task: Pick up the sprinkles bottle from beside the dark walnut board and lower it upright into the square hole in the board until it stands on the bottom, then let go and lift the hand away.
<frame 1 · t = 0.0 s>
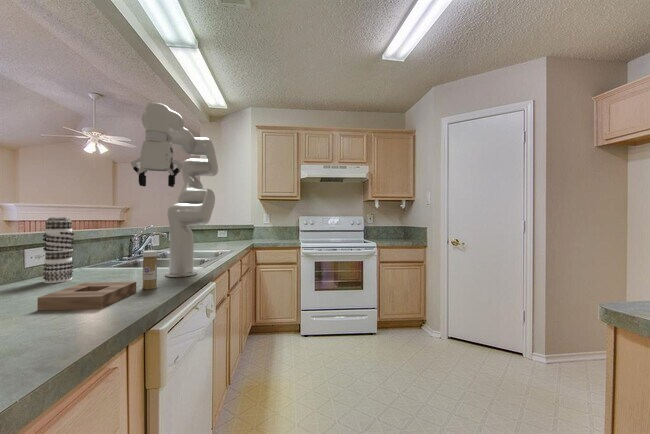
hand: (157, 186, 103), 37 cm above the countertop, tool pointing down, fingers open, 9 cm apart
decorative candle: (58, 281, 112), on the countertop
walnut hole board: (92, 300, 87), on the countertop
sprinkles bottle: (149, 288, 102), on the countertop
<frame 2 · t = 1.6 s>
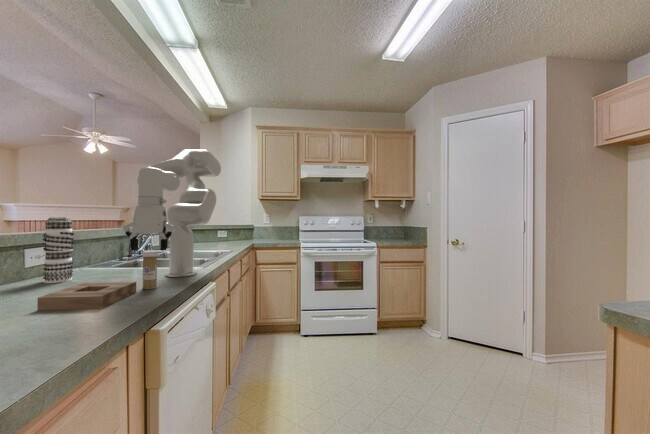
hand: (149, 250, 102), 14 cm above the countertop, tool pointing down, fingers open, 9 cm apart
nothing on the countertop moved.
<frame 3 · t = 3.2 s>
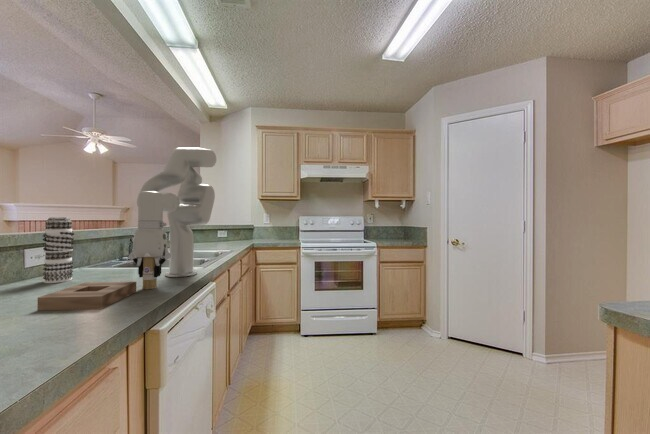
hand: (149, 276, 102), 4 cm above the countertop, tool pointing down, fingers closed on sprinkles bottle, 4 cm apart
sprinkles bottle: (149, 288, 102), on the countertop, touching gripper
everything else where it was.
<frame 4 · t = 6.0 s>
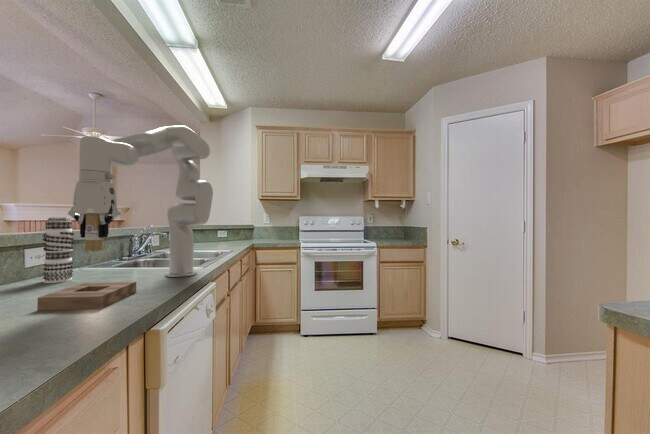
hand: (94, 236, 87), 19 cm above the countertop, tool pointing down, fingers closed on sprinkles bottle, 4 cm apart
sprinkles bottle: (94, 251, 87), point 15 cm above the countertop, touching gripper
everything else where it was.
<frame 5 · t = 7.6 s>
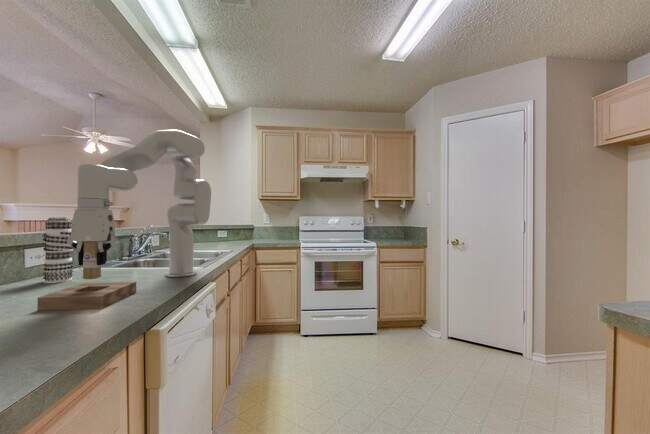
hand: (92, 264, 87), 11 cm above the countertop, tool pointing down, fingers closed on sprinkles bottle, 4 cm apart
sprinkles bottle: (92, 278, 87), point 7 cm above the countertop, touching gripper
everything else where it was.
when the fingers open (5 cm above the countertop, at t = 9.0 s): sprinkles bottle stays where it is, resting in walnut hole board.
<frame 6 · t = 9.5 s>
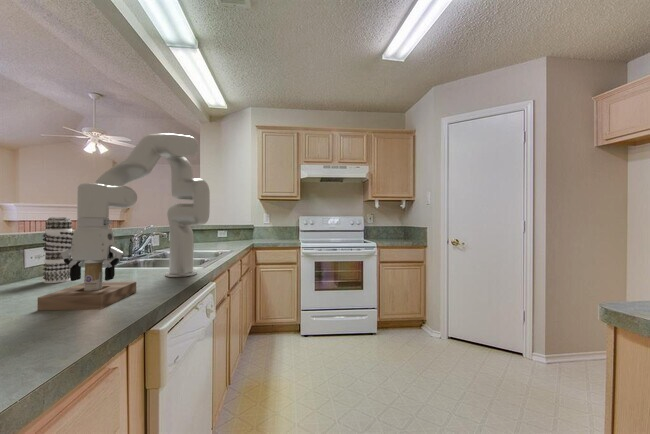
hand: (92, 279, 87), 6 cm above the countertop, tool pointing down, fingers open, 9 cm apart
sprinkles bottle: (93, 300, 87), resting in walnut hole board
everything else where it was.
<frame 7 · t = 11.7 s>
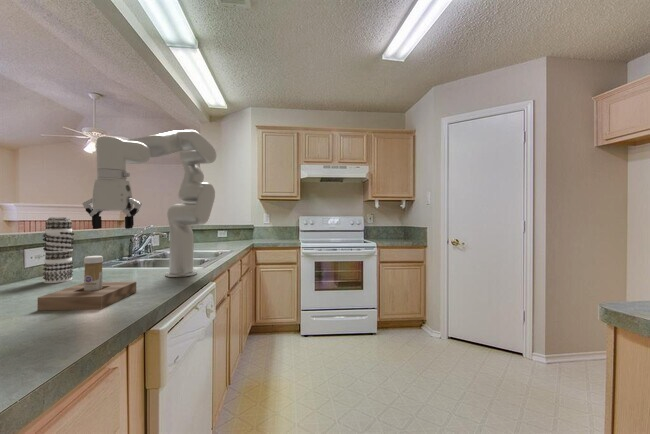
hand: (113, 228, 93), 22 cm above the countertop, tool pointing down, fingers open, 9 cm apart
nothing on the countertop moved.
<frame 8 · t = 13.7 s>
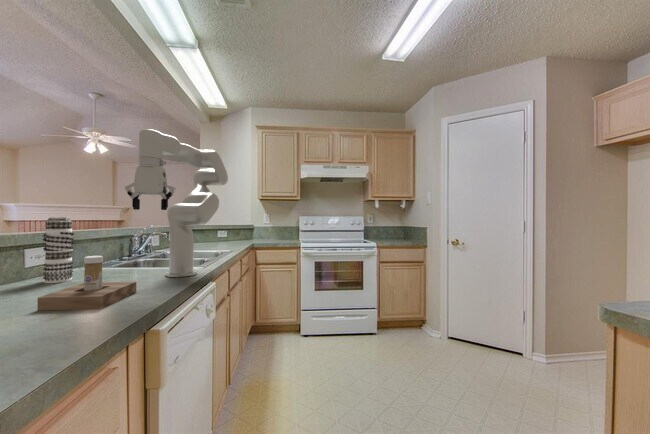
hand: (150, 209, 106), 28 cm above the countertop, tool pointing down, fingers open, 9 cm apart
nothing on the countertop moved.
at the end: sprinkles bottle 0.2 cm off-centre on the walnut hole board, point 0.0 cm above the walnut hole board's base; sprinkles bottle tilted 0°; the gripper is holding nothing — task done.
